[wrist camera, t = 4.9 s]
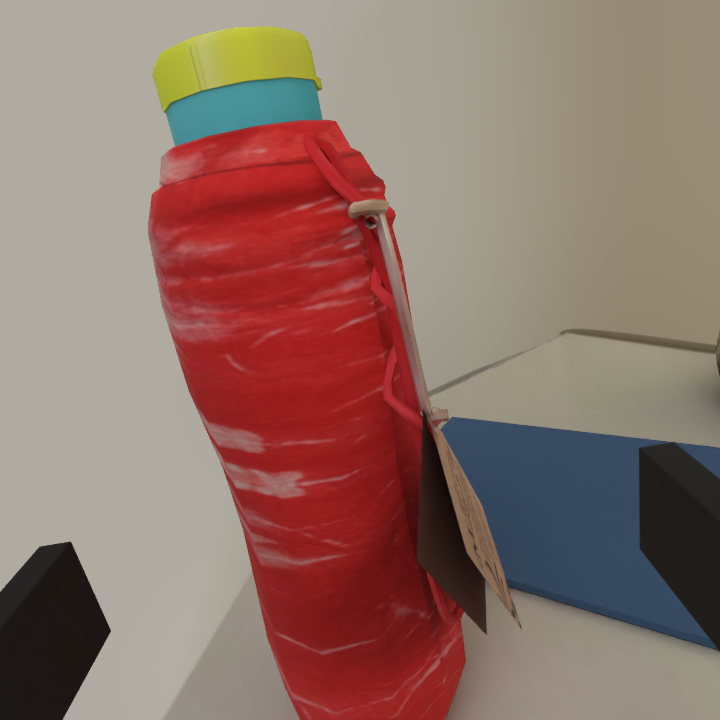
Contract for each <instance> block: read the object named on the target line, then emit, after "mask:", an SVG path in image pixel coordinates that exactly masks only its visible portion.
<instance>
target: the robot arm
mask: <svg viewBox="0 0 720 720" xmlns="http://www.w3.org/2000/svg"><path fill="white" fill-rule="evenodd" d="M639 526H640V550H641V551H642V553H643V554H644V555H645V556H646V558H647V559H648V560H649V562H650V563H651V564H652V565H653V567H654V568H655V569H656V571H657V572H658V573H659V574H660V576H661V577H662V578H663V579H664V581H665V582H666V583H667V585H668V586H669V587H670V588H671V590H672V591H673V592H674V594H675V595H676V596H677V597H678V599H679V600H680V601H681V603H682V604H683V605H684V606H685V608H686V609H687V610H688V612H689V613H690V614H691V615H692V617H693V618H694V619H695V621H696V622H697V623H698V624H699V626H700V627H701V628H702V629H703V631H704V632H705V633H706V635H707V636H708V637H709V638H710V640H711V641H712V642H713V644H714V645H715V646H716V647H717V649H718V650H719V651H720V478H718V477H717V476H716V475H715V474H713V473H712V472H711V471H710V470H708V469H707V468H706V467H705V466H703V465H702V464H701V463H700V462H698V461H697V460H696V459H695V458H694V457H692V456H691V455H690V454H689V453H687V452H686V451H685V450H684V449H682V448H681V447H680V446H679V445H677V444H676V443H675V442H670V443H664V444H658V445H652V446H646V447H640V448H639ZM110 632H111V630H110V628H109V625H108V623H107V621H106V619H105V616H104V614H103V612H102V610H101V608H100V605H99V603H98V601H97V599H96V596H95V594H94V592H93V590H92V588H91V585H90V583H89V581H88V579H87V576H86V574H85V572H84V570H83V568H82V565H81V564H80V561H79V559H78V556H77V554H76V552H75V550H74V548H73V545H72V543H71V542H66V543H59V544H53V545H47V546H41V547H39V548H38V549H37V550H36V552H35V553H34V554H33V555H32V556H31V557H30V558H29V560H28V561H27V562H26V563H25V564H24V565H23V566H22V568H21V569H20V570H19V571H18V572H17V573H16V574H15V576H14V577H13V578H12V579H11V580H10V581H9V583H8V584H7V585H6V586H5V587H4V588H3V589H2V591H1V592H0V720H63V717H64V716H65V714H66V712H67V711H68V709H69V707H70V705H71V703H72V701H73V699H74V697H75V696H76V694H77V692H78V690H79V689H80V686H81V685H82V683H83V681H84V679H85V677H86V676H87V674H88V672H89V670H90V668H91V667H92V665H93V663H94V661H95V659H96V658H97V656H98V654H99V652H100V650H101V648H102V647H103V645H104V643H105V641H106V639H107V637H108V635H109V634H110Z"/></svg>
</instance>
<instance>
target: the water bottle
mask: <svg viewBox="0 0 720 720" xmlns="http://www.w3.org/2000/svg"><path fill="white" fill-rule="evenodd" d="M153 78H154V81H155V84H156V88H157V91H158V95H159V99H160V102H161V106H162V109H163V112H165V113H166V115H167V118H168V122H169V126H170V129H171V133H172V136H173V140H174V143H175V147H173V148H172V149H170V150H168V151H167V152H166V153H165V154H164V155H163V157H161V169H160V170H161V171H160V184H159V187H158V189H157V190H156V191H155V192H154V193H153V194H152V198H151V206H150V214H149V222H148V235H149V240H150V245H151V251H152V256H153V261H154V266H155V271H156V276H157V282H158V287H159V292H160V297H161V302H162V307H163V310H164V313H165V316H166V319H167V323H168V326H169V329H170V332H171V335H172V339H173V342H174V345H175V348H176V351H177V354H178V358H179V361H180V364H181V367H182V370H183V373H184V377H185V380H186V383H187V386H188V389H189V392H190V394H191V396H192V399H193V401H194V403H195V406H196V408H197V410H198V412H199V415H200V417H201V419H202V422H203V424H204V426H205V428H206V431H207V433H208V435H209V437H210V440H211V442H212V444H213V447H214V449H215V451H216V453H217V456H218V458H219V460H220V463H221V465H222V467H223V469H224V473H225V475H226V479H227V481H228V485H229V488H230V491H231V494H232V497H233V500H234V503H235V506H236V509H237V512H238V515H239V518H240V521H241V525H242V528H243V531H244V535H245V539H246V544H247V548H248V553H249V557H250V562H251V566H252V571H253V575H254V580H255V584H256V588H257V593H258V597H259V602H260V606H261V611H262V615H263V620H264V624H265V628H266V633H267V637H268V641H269V644H270V647H271V649H272V652H273V655H274V658H275V661H276V663H277V666H278V669H279V672H280V675H281V678H282V680H283V683H284V686H285V688H286V690H287V692H288V695H289V697H290V699H291V701H292V703H293V705H294V707H295V709H296V712H297V714H298V716H299V718H300V720H445V717H446V715H447V712H448V710H449V707H450V705H451V702H452V700H453V697H454V695H455V692H456V689H457V686H458V683H459V680H460V677H461V674H462V671H463V668H464V665H465V662H466V658H465V650H464V643H463V635H462V627H461V620H460V619H461V617H462V615H463V613H464V612H465V613H466V614H467V615H468V616H469V617H470V618H471V619H472V620H473V621H474V622H475V623H476V624H477V625H478V627H479V628H480V629H481V630H482V631H483V632H484V633H485V634H486V635H487V628H486V601H485V579H486V580H487V582H488V583H489V585H490V586H491V587H492V589H493V590H494V592H495V593H496V594H497V596H498V597H499V599H500V600H501V602H502V603H503V604H504V606H505V607H506V609H507V610H508V611H509V613H510V614H511V616H512V617H513V618H514V620H515V621H516V623H517V624H518V625H519V627H520V628H521V624H520V621H519V618H518V615H517V612H516V609H515V606H514V603H513V600H512V597H511V594H510V590H509V587H508V584H507V581H506V578H505V575H504V572H503V569H502V566H501V563H500V560H499V556H498V553H497V550H496V547H495V544H494V541H493V538H492V535H491V532H490V529H489V526H488V522H487V519H486V516H485V513H484V510H483V507H482V505H481V503H480V501H479V499H478V497H477V495H476V494H475V492H474V490H473V488H472V486H471V484H470V483H469V481H468V479H467V477H466V475H465V474H464V472H463V470H462V468H461V466H460V464H459V463H458V461H457V459H456V457H455V455H454V454H453V452H452V450H451V448H450V446H449V444H448V443H447V441H446V439H445V437H444V435H443V433H442V432H441V430H440V428H439V426H438V425H439V424H440V422H441V421H448V419H449V417H448V411H447V409H445V410H440V408H431V405H430V400H429V396H428V392H427V387H426V383H425V379H424V374H423V370H422V365H421V361H420V356H419V352H418V347H417V343H416V338H415V334H414V329H413V325H412V319H411V313H410V307H409V301H408V295H407V289H406V283H405V277H404V271H403V265H402V259H401V256H400V253H399V249H398V245H397V242H396V238H395V234H394V231H393V227H392V225H393V221H394V219H395V216H396V215H395V212H394V210H393V209H392V208H390V207H389V206H388V202H387V201H386V199H385V196H384V194H385V184H384V182H383V180H382V179H380V178H379V177H378V176H376V175H375V174H374V173H373V171H372V170H371V168H370V166H369V165H368V163H367V162H366V160H365V158H364V157H363V155H362V154H361V152H359V151H357V150H355V149H353V148H351V147H350V145H349V143H348V142H347V140H346V138H345V136H344V135H343V133H342V131H341V129H340V128H339V126H338V125H337V123H336V121H331V120H322V115H321V110H320V104H319V100H318V94H317V91H319V90H321V89H322V85H321V79H320V78H318V77H317V76H316V73H315V68H314V63H313V57H312V52H311V49H310V47H309V44H308V42H307V40H306V38H305V37H304V35H303V34H301V33H300V32H295V31H291V30H287V29H282V28H278V27H263V26H261V27H238V28H228V29H224V30H219V31H214V32H210V33H206V34H201V35H198V36H195V37H192V38H190V39H188V40H186V41H184V42H181V43H179V44H177V45H175V46H173V47H171V48H169V49H167V50H165V51H163V52H162V53H161V54H160V56H159V58H158V60H157V62H156V64H155V66H154V68H153ZM420 410H421V412H422V415H423V416H422V415H421V414H420ZM521 630H522V628H521Z"/></svg>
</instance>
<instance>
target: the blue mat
mask: <svg viewBox="0 0 720 720" xmlns="http://www.w3.org/2000/svg"><path fill="white" fill-rule="evenodd" d="M441 432H442V433H443V435H444V437H445V439H446V441H447V443H448V444H449V446H450V448H451V450H452V452H453V454H454V455H455V457H456V459H457V461H458V463H459V464H460V466H461V468H462V470H463V472H464V474H465V475H466V477H467V479H468V481H469V483H470V484H471V486H472V488H473V490H474V492H475V494H476V495H477V497H478V499H479V501H480V503H481V505H482V507H483V510H484V513H485V516H486V519H487V522H488V526H489V529H490V532H491V535H492V538H493V541H494V544H495V547H496V550H497V553H498V556H499V560H500V563H501V566H502V569H503V572H504V575H505V578H506V581H507V584H508V586H510V587H513V588H516V589H519V590H523V591H526V592H529V593H533V594H536V595H539V596H542V597H546V598H549V599H552V600H556V601H559V602H562V603H566V604H569V605H572V606H575V607H579V608H582V609H585V610H589V611H592V612H595V613H598V614H602V615H605V616H608V617H612V618H615V619H618V620H621V621H625V622H628V623H631V624H635V625H638V626H641V627H644V628H648V629H651V630H654V631H658V632H661V633H664V634H668V635H671V636H674V637H677V638H681V639H684V640H687V641H691V642H694V643H697V644H700V645H704V646H707V647H710V648H714V649H717V647H716V646H715V645H714V644H713V642H712V641H711V640H710V638H709V637H708V636H707V635H706V633H705V632H704V631H703V629H702V628H701V627H700V626H699V624H698V623H697V622H696V621H695V619H694V618H693V617H692V615H691V614H690V613H689V612H688V610H687V609H686V608H685V606H684V605H683V604H682V603H681V601H680V600H679V599H678V597H677V596H676V595H675V594H674V592H673V591H672V590H671V588H670V587H669V586H668V585H667V583H666V582H665V581H664V579H663V578H662V577H661V576H660V574H659V573H658V572H657V571H656V569H655V568H654V567H653V565H652V564H651V563H650V562H649V560H648V559H647V558H646V556H645V555H644V554H643V553H642V551H641V550H640V526H639V448H640V447H646V446H652V445H658V444H664V443H670V442H666V441H657V440H649V439H640V438H631V437H622V436H614V435H605V434H596V433H588V432H579V431H570V430H561V429H553V428H544V427H535V426H527V425H518V424H509V423H501V422H492V421H483V420H474V419H466V418H457V417H452V418H451V419H450V420H449V421H448V422H447V423H446V424H445V425H444V426H443V427H442V428H441ZM676 444H677V445H679V446H680V447H681V448H682V449H684V450H685V451H686V452H687V453H689V454H690V455H691V456H692V457H694V458H695V459H696V460H697V461H698V462H700V463H701V464H702V465H703V466H705V467H706V468H707V469H708V470H710V471H711V472H712V473H713V474H715V475H716V476H717V477H718V478H720V448H718V447H709V446H701V445H692V444H683V443H676ZM717 650H718V649H717Z"/></svg>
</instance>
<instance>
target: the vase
mask: <svg viewBox="0 0 720 720" xmlns="http://www.w3.org/2000/svg"><path fill="white" fill-rule="evenodd" d="M716 358H717V366H718V371H719V375H720V332H719V336H718V340H717V347H716Z"/></svg>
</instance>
